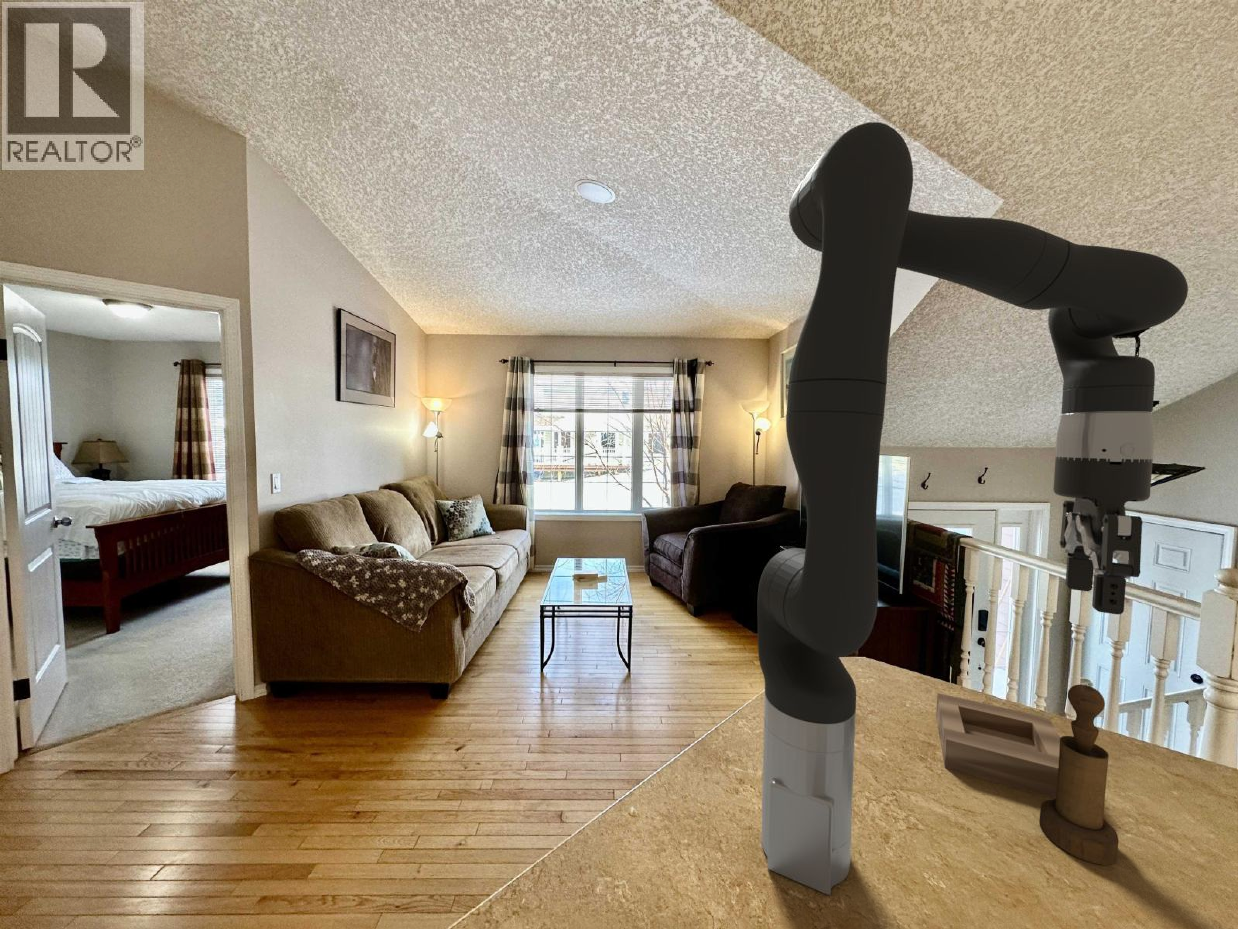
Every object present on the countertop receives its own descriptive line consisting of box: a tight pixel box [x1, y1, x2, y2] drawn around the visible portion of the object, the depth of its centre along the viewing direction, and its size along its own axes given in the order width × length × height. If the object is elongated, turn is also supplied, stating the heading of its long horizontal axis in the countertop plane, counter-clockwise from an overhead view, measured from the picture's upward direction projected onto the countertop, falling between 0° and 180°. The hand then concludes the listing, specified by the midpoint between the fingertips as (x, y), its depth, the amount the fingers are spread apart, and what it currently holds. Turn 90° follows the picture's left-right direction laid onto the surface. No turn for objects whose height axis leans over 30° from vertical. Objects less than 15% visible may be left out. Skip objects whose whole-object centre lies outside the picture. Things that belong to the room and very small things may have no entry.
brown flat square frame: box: [935, 692, 1061, 800], centre depth 70 cm, size 14×14×4 cm
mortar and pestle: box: [1038, 684, 1120, 866], centre depth 55 cm, size 7×6×18 cm
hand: (1092, 600), depth 54 cm, fingers open, 8 cm apart
